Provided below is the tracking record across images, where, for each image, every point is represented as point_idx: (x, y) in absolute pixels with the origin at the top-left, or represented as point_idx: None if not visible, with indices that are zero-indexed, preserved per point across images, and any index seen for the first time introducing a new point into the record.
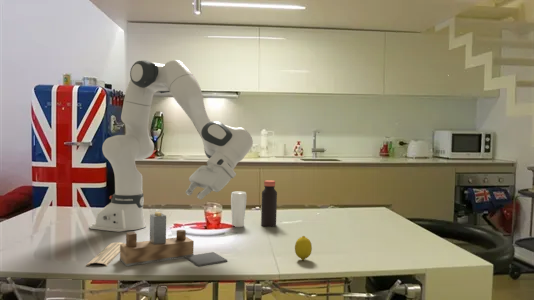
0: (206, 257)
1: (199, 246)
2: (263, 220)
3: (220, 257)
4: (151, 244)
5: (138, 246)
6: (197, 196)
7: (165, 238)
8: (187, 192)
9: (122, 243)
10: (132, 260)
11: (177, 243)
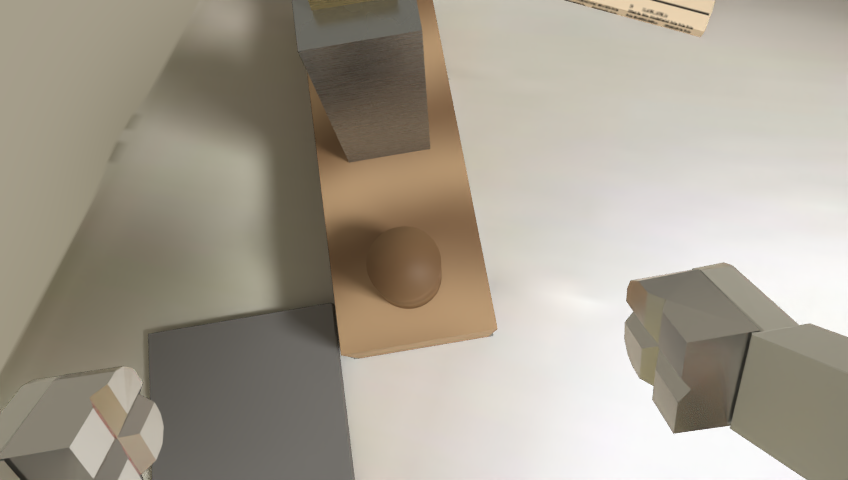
0: (257, 419)
1: (566, 458)
2: None
3: None
4: None
5: None
6: (88, 373)
7: (343, 146)
8: (634, 287)
9: (698, 6)
10: None
11: (327, 234)
